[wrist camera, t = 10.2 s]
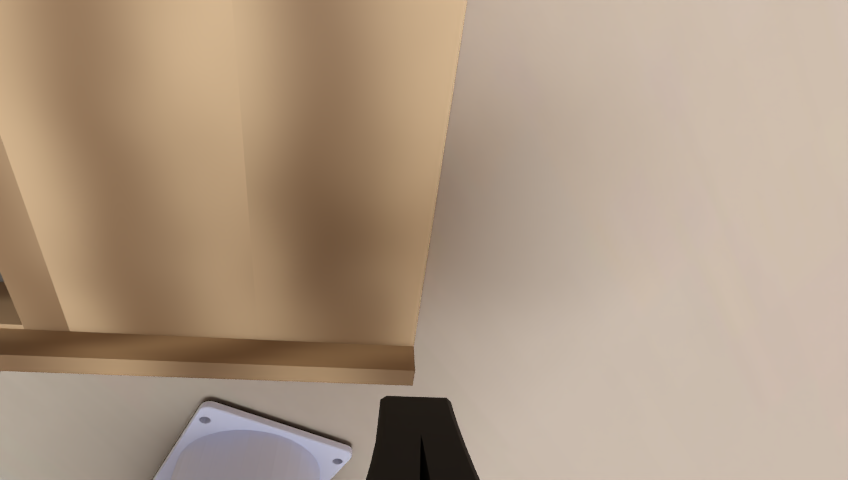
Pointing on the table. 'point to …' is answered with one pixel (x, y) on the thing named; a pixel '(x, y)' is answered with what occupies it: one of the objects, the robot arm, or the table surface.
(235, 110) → the wooden compartment tray
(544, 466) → the table surface
